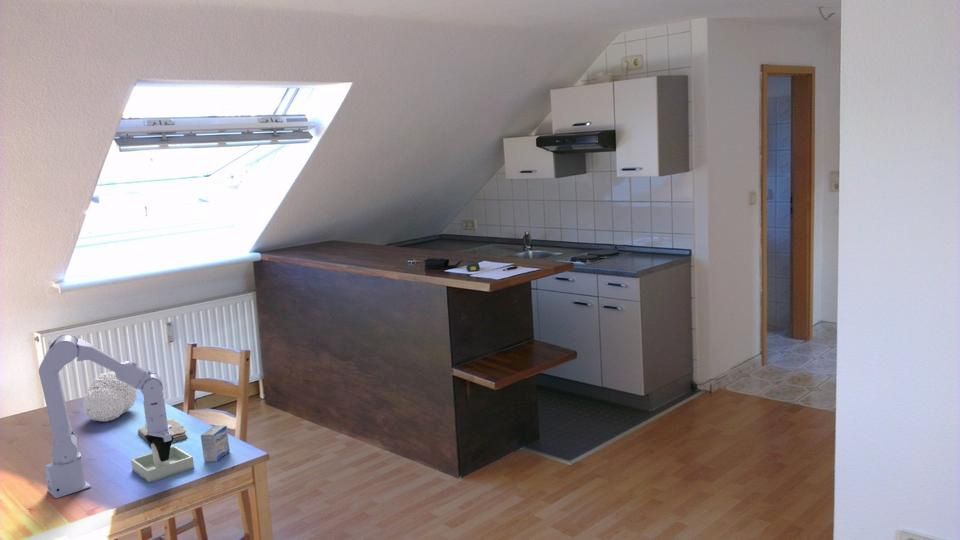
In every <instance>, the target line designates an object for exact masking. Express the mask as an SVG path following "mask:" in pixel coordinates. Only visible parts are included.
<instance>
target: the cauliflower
mask: <svg viewBox="0 0 960 540" xmlns="http://www.w3.org/2000/svg"><path fill="white" fill-rule="evenodd" d="M91 381H92V382H90V385H89V386H88V387H87V388H88V389H87V392H86V393H85V395H84V397H83V402H82V405H83V406H82V407H83V410H84V414H85V415H86V417H87V418H88V419H90V420H93V421H97V422H106V423H107V422H109V421H110V422H111V421H114V420H116V419H117V418H120V416H122V415H123V414H125V413H126V412H127V411H129V410H130V409H131V408H132V407H134V404H135V402H136V401H137V389H136V388H134V387H132V386H130V385H128V384H127V383H125V382H123V381H121V380H119V379H117V378H116V374H115V372H113V371H107V372H103V373H100V374H98V375H97V376H96V377H95V378H94V379H93V380H91Z"/></svg>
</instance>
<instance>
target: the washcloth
mask: <svg viewBox="0 0 960 540" xmlns="http://www.w3.org/2000/svg"><path fill="white" fill-rule="evenodd" d="M167 423H168V425H172V428H171V429H169V433H170V434H171V436H173V438H174V439H173V441H172V443H176V442H178V441H183V440H186V439H188V436H187V434H186V432H187V430H186V429H185V428H184V425H181V424H180V423H179V422H178V421H176V420H175V419H173V418H172V419H167ZM137 434H138V435H140V437H142V438H143V439H144V440H145V442H147V443H148V441H147V440H146V439H145V437H144V436H145V435H147V431H146V427H145V426H143V427H140V428H139V429H138V430H137Z"/></svg>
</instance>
